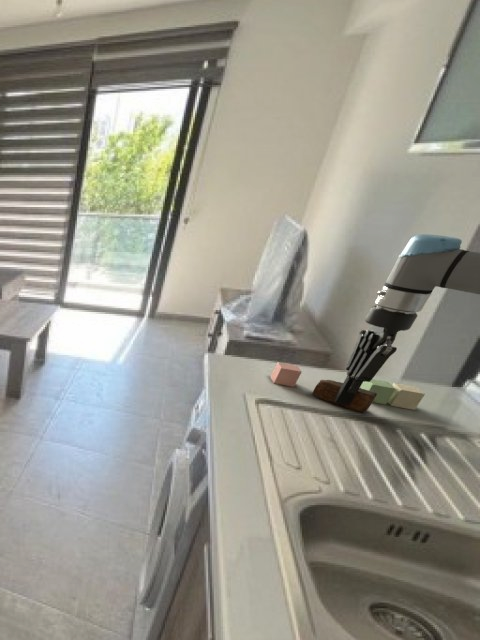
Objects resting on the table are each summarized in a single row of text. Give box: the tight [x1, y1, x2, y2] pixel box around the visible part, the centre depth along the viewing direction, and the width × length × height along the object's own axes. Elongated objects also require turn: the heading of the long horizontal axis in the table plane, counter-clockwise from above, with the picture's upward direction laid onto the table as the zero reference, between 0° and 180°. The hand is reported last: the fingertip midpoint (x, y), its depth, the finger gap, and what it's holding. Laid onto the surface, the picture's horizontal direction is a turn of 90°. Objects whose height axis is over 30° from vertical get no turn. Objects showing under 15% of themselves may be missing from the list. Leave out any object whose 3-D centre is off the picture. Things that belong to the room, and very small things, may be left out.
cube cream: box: [387, 382, 426, 411], centre depth 120 cm, size 4×4×4 cm
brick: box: [311, 379, 377, 414], centre depth 119 cm, size 11×4×5 cm, turn 34°
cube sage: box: [360, 378, 395, 405], centre depth 122 cm, size 4×4×4 cm
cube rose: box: [270, 362, 303, 388], centre depth 129 cm, size 4×4×4 cm
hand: (341, 402), depth 117 cm, fingers closed
